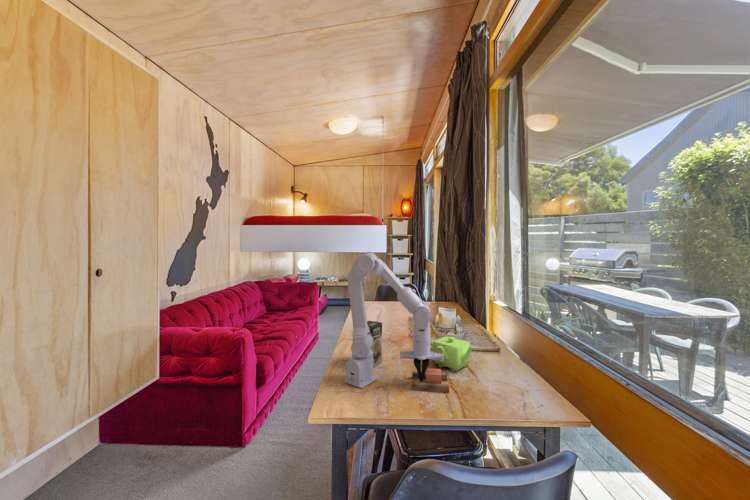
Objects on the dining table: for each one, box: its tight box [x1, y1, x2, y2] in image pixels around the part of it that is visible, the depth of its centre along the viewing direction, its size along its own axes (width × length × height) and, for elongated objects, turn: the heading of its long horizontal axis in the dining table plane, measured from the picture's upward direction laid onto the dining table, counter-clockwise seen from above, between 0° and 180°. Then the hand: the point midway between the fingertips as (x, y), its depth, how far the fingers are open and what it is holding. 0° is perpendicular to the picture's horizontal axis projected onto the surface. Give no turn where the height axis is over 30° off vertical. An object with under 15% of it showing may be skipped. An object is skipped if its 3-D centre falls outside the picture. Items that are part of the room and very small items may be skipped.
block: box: [425, 367, 442, 384], centre depth 112 cm, size 5×5×4 cm
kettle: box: [430, 336, 477, 373], centre depth 127 cm, size 15×14×11 cm
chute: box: [410, 370, 450, 394], centre depth 112 cm, size 12×10×2 cm
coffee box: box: [367, 320, 383, 369], centre depth 128 cm, size 9×6×16 cm
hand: (421, 380), depth 113 cm, fingers closed
